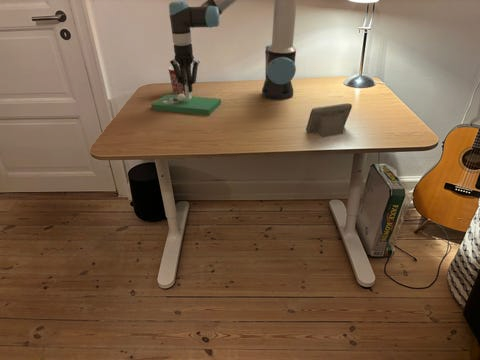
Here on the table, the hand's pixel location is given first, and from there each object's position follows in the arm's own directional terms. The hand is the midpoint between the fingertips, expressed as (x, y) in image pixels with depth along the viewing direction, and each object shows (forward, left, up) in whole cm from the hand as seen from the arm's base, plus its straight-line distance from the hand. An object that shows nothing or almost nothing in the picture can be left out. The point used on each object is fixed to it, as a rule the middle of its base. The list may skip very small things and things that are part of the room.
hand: (188, 98), depth 156 cm
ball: (+4, 0, 0) cm, 4 cm away
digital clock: (-63, +10, -4) cm, 64 cm away
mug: (+12, -16, -4) cm, 21 cm away
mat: (+1, 0, -4) cm, 4 cm away
